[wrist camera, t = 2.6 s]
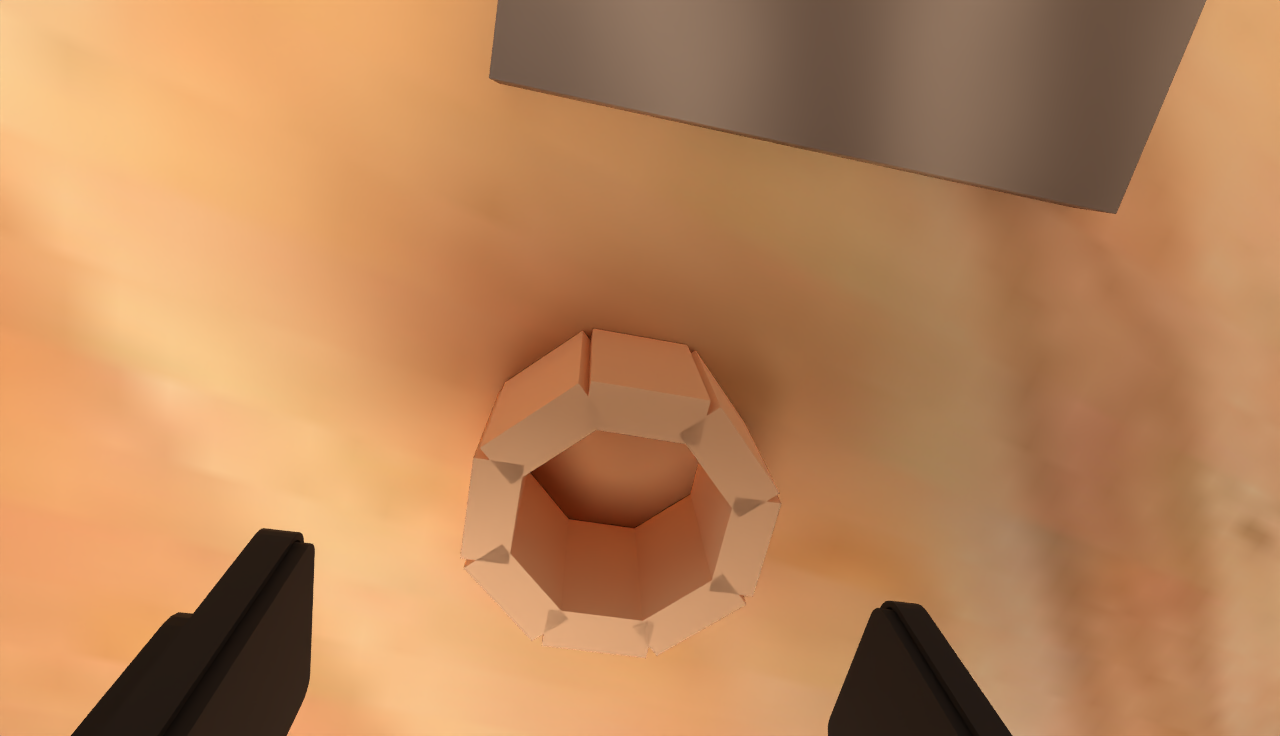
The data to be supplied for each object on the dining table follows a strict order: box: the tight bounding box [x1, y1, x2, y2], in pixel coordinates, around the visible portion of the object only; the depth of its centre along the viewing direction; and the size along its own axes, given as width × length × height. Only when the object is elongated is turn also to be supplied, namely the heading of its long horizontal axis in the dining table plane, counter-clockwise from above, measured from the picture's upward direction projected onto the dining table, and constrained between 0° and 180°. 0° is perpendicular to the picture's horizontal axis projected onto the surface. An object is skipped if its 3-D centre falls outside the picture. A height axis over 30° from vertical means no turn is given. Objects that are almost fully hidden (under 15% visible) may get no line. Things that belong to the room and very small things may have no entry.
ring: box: [460, 329, 781, 658], centre depth 17 cm, size 7×7×4 cm
